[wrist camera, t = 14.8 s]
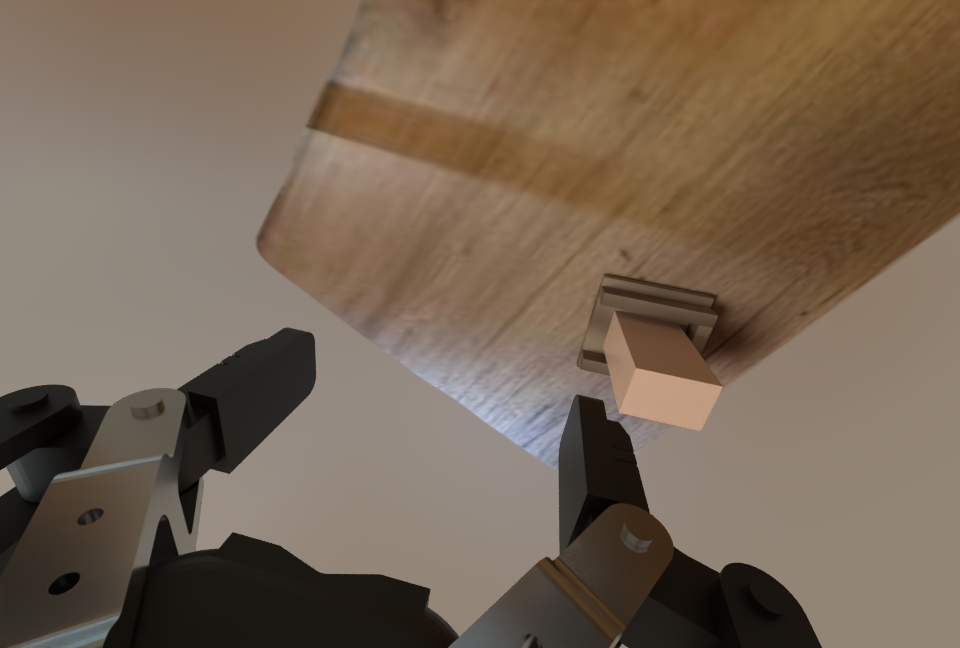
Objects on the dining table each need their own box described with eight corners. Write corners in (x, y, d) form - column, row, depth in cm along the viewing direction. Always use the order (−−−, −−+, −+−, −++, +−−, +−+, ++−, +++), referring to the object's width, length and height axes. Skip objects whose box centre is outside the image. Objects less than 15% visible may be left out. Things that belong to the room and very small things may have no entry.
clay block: (614, 310, 38) (636, 368, 28) (678, 323, 37) (722, 386, 27) (603, 346, 39) (619, 412, 29) (663, 359, 39) (700, 430, 29)
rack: (603, 273, 37) (607, 283, 35) (710, 295, 36) (722, 306, 34) (576, 362, 42) (578, 376, 39) (671, 383, 41) (679, 399, 38)
